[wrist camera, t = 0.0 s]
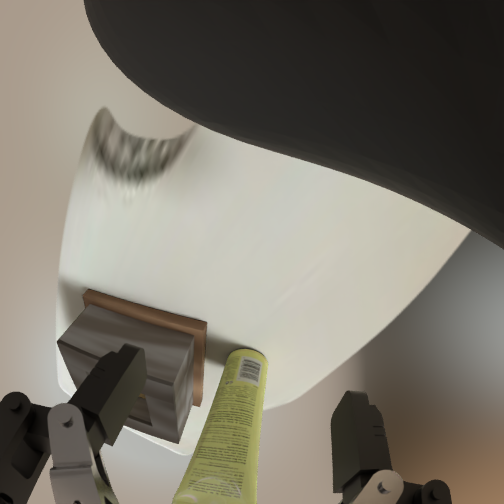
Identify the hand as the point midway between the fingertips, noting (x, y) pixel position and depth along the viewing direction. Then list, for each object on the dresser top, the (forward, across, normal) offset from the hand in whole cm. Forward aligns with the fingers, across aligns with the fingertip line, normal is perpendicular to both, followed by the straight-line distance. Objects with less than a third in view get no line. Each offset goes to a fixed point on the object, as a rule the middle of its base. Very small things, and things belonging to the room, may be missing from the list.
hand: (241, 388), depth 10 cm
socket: (+19, +13, +19) cm, 30 cm away
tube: (+19, 0, +16) cm, 25 cm away
